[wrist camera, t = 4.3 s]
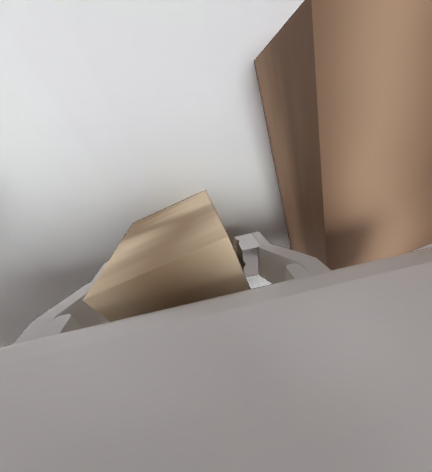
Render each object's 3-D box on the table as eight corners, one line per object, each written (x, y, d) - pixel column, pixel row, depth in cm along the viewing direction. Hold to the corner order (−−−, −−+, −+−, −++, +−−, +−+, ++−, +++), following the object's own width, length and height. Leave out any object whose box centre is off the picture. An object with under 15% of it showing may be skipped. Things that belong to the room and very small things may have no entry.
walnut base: (291, 250, 14) (328, 286, 10) (254, 60, 8) (311, -8, 4) (432, 189, 13) (521, 205, 10) (509, -65, 7) (808, -258, 4)
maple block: (172, 276, 13) (165, 364, 8) (133, 223, 10) (82, 300, 5) (231, 250, 13) (264, 322, 8) (205, 190, 10) (228, 236, 5)
